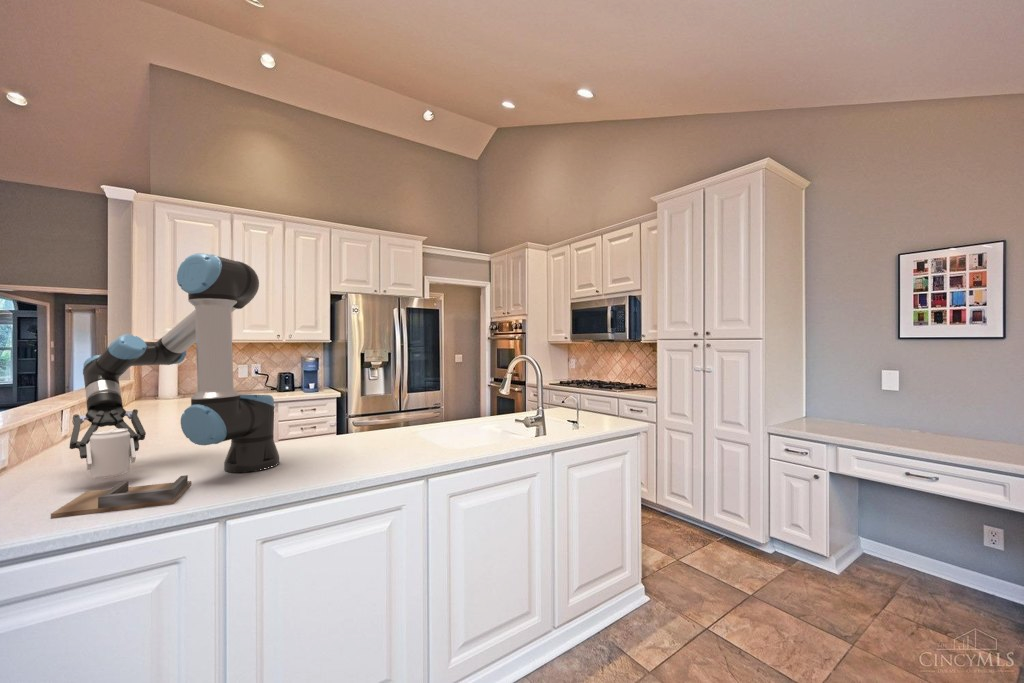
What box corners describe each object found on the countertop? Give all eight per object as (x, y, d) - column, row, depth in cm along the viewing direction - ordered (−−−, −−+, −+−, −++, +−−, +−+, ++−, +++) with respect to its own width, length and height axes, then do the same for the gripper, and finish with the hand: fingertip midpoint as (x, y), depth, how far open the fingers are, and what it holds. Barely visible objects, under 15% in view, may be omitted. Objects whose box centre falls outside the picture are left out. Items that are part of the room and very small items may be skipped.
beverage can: (105, 479, 113) (105, 434, 113) (81, 478, 114) (81, 433, 115) (137, 471, 121) (137, 428, 121) (114, 469, 122) (115, 427, 123)
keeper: (191, 484, 119) (191, 471, 119) (173, 503, 104) (173, 489, 104) (86, 495, 109) (86, 481, 110) (50, 518, 95) (50, 502, 95)
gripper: (148, 403, 136) (159, 463, 125) (51, 411, 120) (55, 480, 109) (151, 388, 132) (163, 447, 122) (53, 394, 117) (56, 463, 106)
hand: (112, 463), depth 116 cm, fingers closed on beverage can, 8 cm apart
